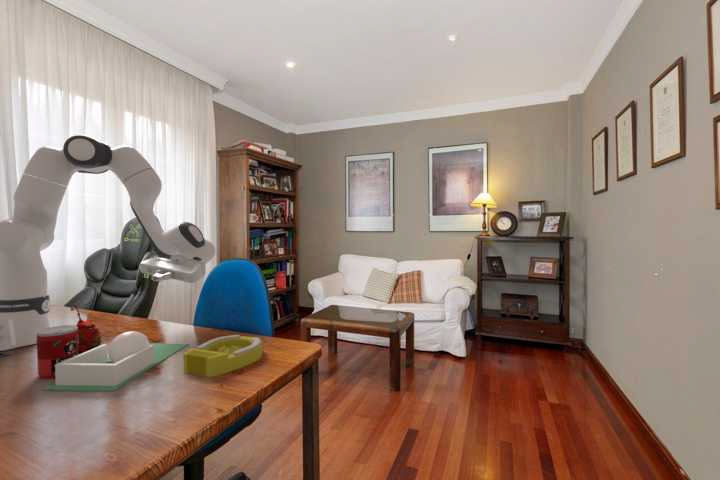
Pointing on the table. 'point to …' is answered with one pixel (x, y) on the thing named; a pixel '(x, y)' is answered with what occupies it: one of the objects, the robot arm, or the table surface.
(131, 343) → the ball
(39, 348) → the canned food
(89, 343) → the red clay folk toy
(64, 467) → the table surface
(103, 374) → the white chevron barrier
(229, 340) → the olive green tray
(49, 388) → the green mat
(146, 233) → the robot arm
